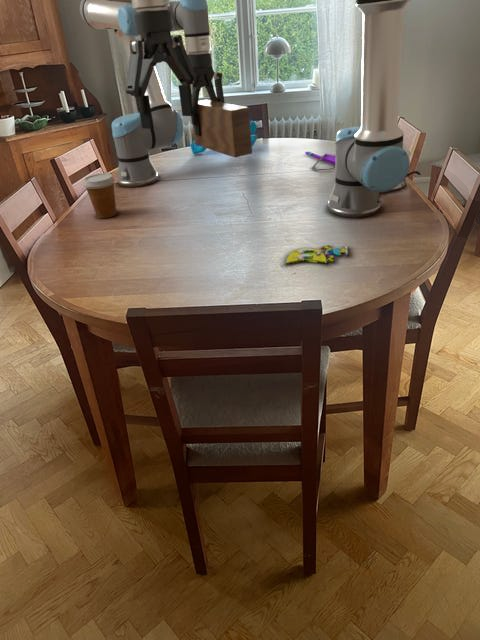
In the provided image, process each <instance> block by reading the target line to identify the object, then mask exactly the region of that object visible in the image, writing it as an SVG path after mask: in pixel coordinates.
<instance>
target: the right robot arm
mask: <svg viewBox="0 0 480 640" xmlns="http://www.w3.org/2000/svg"><path fill="white" fill-rule="evenodd" d="M410 1H411V0H355V7H356V8H357V9H358V10H359V11H360V13H361V14H362V37H361V39H362V41H361V42H362V43H361V44H362V45H361V47H362V48H361V50H362V51H361V107H360V108H361V110H360V111H361V114H360V115H361V116H360V126H359V125H358V126H351V127H345V128H341V129H339V130H338V131H337V132H336V138H335V142H334V143H335V156H336V159H335V164H334V165H335V166H334V167H335V168H334V184H333V188H332V191H331V193H330V196H329V199H328V201H327V211H328V212H329V213H330V214H332V215H334V216H337V217H340V218H347V219H356V218H357V219H359V218H360V219H361V218H367V217H371V216H375V215H376V214H379V212H380V211H381V208H382V200H381V196H380V195H383V194H390V193H393V192H394V193H395V192H398V191H401V190H403V189H405V188H406V186H407V184H406V182H405V179H406V178H408V177H410V176H411V175H414V174H416V175H418V176H421V173H420V172H419V171H418V170H413V171H410V172H409V170H410V167H411V166H410V165H411V162H410V161H411V160H410V157H409V154H408V153H407V151H406V150H405V149H404V130H403V129H402V128H401V127H399V124H398V123H399V107H400V106H399V104H400V103H399V102H400V86H401V67H402V49H403V33H404V32H403V31H404V15H405V14H404V13H405V8H406V6H407V5H408V4H409V2H410ZM170 2H171V1H170V0H132V6H133V9H134V10H136V13H135V15H134V17H135V23H136V29H137V33H138V34H140V36H141V41H140V40H136V41H130V43H129V45H130V61H129V60H128V69H127V76H126V78H127V79H126V85H125V93H126V94H127V95H130V96H132V97H134V99H135V104H136V110H137V113H140V117H141V123H142V128H144V129H153V128H154V126H153V120H152V114H151V108H150V102H149V96H148V95H145V93H146V90H147V86H148V83H149V80H150V77H151V74H152V71H153V68H154V66H155V67H156V65H157V64H160V63H162V62H164V63H166V65H167V66H168V67H169V68H170V70H171V71H172V73H173V74H174V76H175V77H176V79H177V80H178V82H179V83H180V84H179V85H178V92H179V101H180V107H181V117H182V116H183V117H191V116H193V109H192V101H191V99H192V85H193V84H194V80H196V74H195V72H194V69H193V67H192V65H191V62H190V60H189V58H188V55H189V54H188V53H187V52H186V47H185V46H184V45H185V44H184V40H183V36H182V35H181V34H172V35H171V32H173V31H172V30H173V22H172V14H171V12H170V10H168V9H167V7H169V6H170ZM189 73H190V74H189ZM401 183H402V186H400V187H399V185H400V184H401Z"/></svg>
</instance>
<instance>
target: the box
mask: <svg viewBox="0 0 480 640" xmlns="http://www.w3.org/2000/svg"><path fill="white" fill-rule="evenodd" d="M197 114H199V119H200V128H201V136H198V135H196V134H195V126H194V125H193V124H192V130H193V131H192V132H193V139H194V140H195V144H196V145H199V146H202V147H205V148H207V149H208V150H211V151H214V152H217V153H220V154H223V155H226V156H229V157H231V158H240V157H244V156H247V155H252V154H253V146H251V130H250V121H251V116H250V107H249V106H244V105H238V104H234V103H232V104H231V103H228V102H225V103H223V102H217V101H212V100H210V99H202V100H198V106H197Z"/></svg>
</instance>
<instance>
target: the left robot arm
mask: <svg viewBox="0 0 480 640" xmlns="http://www.w3.org/2000/svg"><path fill="white" fill-rule="evenodd" d="M169 2H170V6H169V7H167V9H168V10H170V12H171V14H172V22H173V30H172V31H171V32H180V31H183V35H184V41H185V44H184V45H185V50H186V53H187V55H188V58H189V60H190V62H191V65H192V67H193V69H194V72H195V74H196V80H194V84H191V92H192V99H191V101H192V109H193V116H190V121H191V124H192V126H193V125H194V126H195V134H196V135H198V136H201V128H200V119H199V114H197V106H198V101H199V100H200V99H199V98H200V92H201V89H202V88H205V89H206V92H207V94H208V97H209V100H212V101H217V102H223V103H226V102H225V96H224V88H223V82H222V80H223V73H222V72H218V71H217V72H216V71H215V70H214V68H213V65H214V61H213V54H212V52H210V51H212V43H211V34H210V21H209V19H210V18H209V9H208V8H209V6H208V2H207V0H173V1H169ZM79 13H80V16H81V19H82V21H83V22H84V23H85V24H86V25H87V26H88V27H90V28H91V29H96V30H113V31H114V33H115V34H114V35H115V36H116V38H118V39H119V40H121V41H122V45H123V47H124V50H125V55H126V57H127V60H128V62H129V61H130V45H129V43H130V41H136V40H140V41H141V36H140V34H138V33H137V29H136V23H135V17H134V15H135V13H136V10H134V9H133V6H132V0H81V1H80V3H79ZM189 74H190V73H189ZM213 80H214V84H213ZM214 87H215V88H214ZM145 95H148V96H149V102H150V108H151V114H152V120H153V126H154V128H153V129H144V128H142V123H141V117H140V113H138V112H133V113H128V114H125V115H121V116H118V117H117V118H115V119H114V120H113V121H112V122H111V132H112V133H111V135H112V138H113V142H114V146H115V151H116V156H117V160H118V167H117V168H118V170H117V179H116V180H117V183H118V186H120V187H123V188H124V187H125V188H136V187H137V188H138V187H145V186H147V185H148V186H149V185H151V184H154V183H156V182H157V181H158V180H159V176H158V172H157V169H156V168H155V166H154V163H153V161H152V159H151V156H150V150H155V149H158V148H163V147H167V146H172V145H175V144H178V143H180V142H181V140H182V138H183V136H184V121H183V117H182V114H181V113H180V111H179V110H176V109H173V105H172V104H171V103H170V102H169V101H167V100H166V96H165V94H164V90H163V87H162V83H161V81H160V77H159V75H158V71H157V69H156V65H155V66H154V68H153V71H152V74H151V77H150V80H149V83H148V86H147V90H146V93H145Z"/></svg>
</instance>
